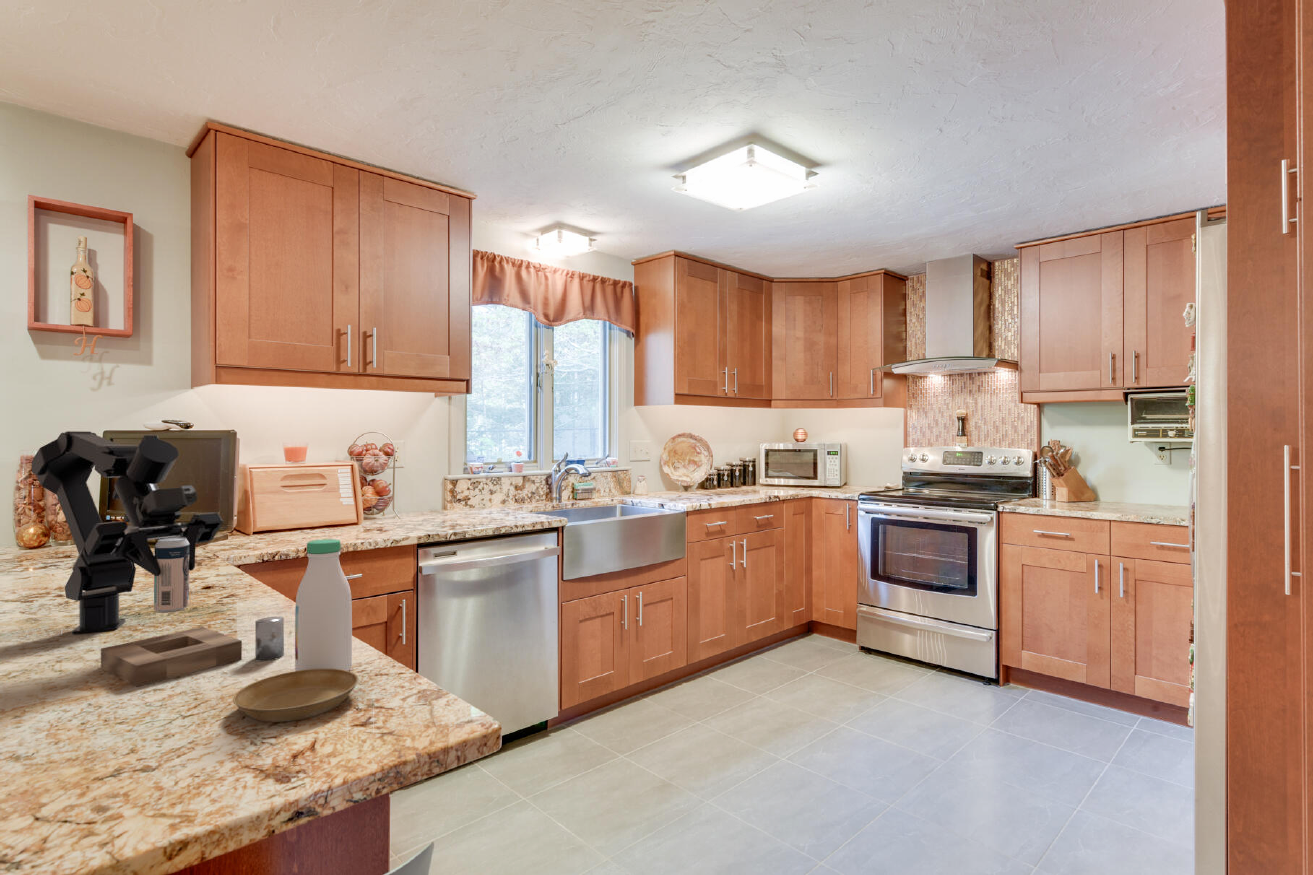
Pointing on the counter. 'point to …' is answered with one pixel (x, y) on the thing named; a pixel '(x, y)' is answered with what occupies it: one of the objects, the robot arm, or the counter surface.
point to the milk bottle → (323, 611)
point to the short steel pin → (269, 638)
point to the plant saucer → (295, 694)
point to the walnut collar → (170, 655)
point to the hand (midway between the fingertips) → (175, 571)
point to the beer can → (172, 575)
